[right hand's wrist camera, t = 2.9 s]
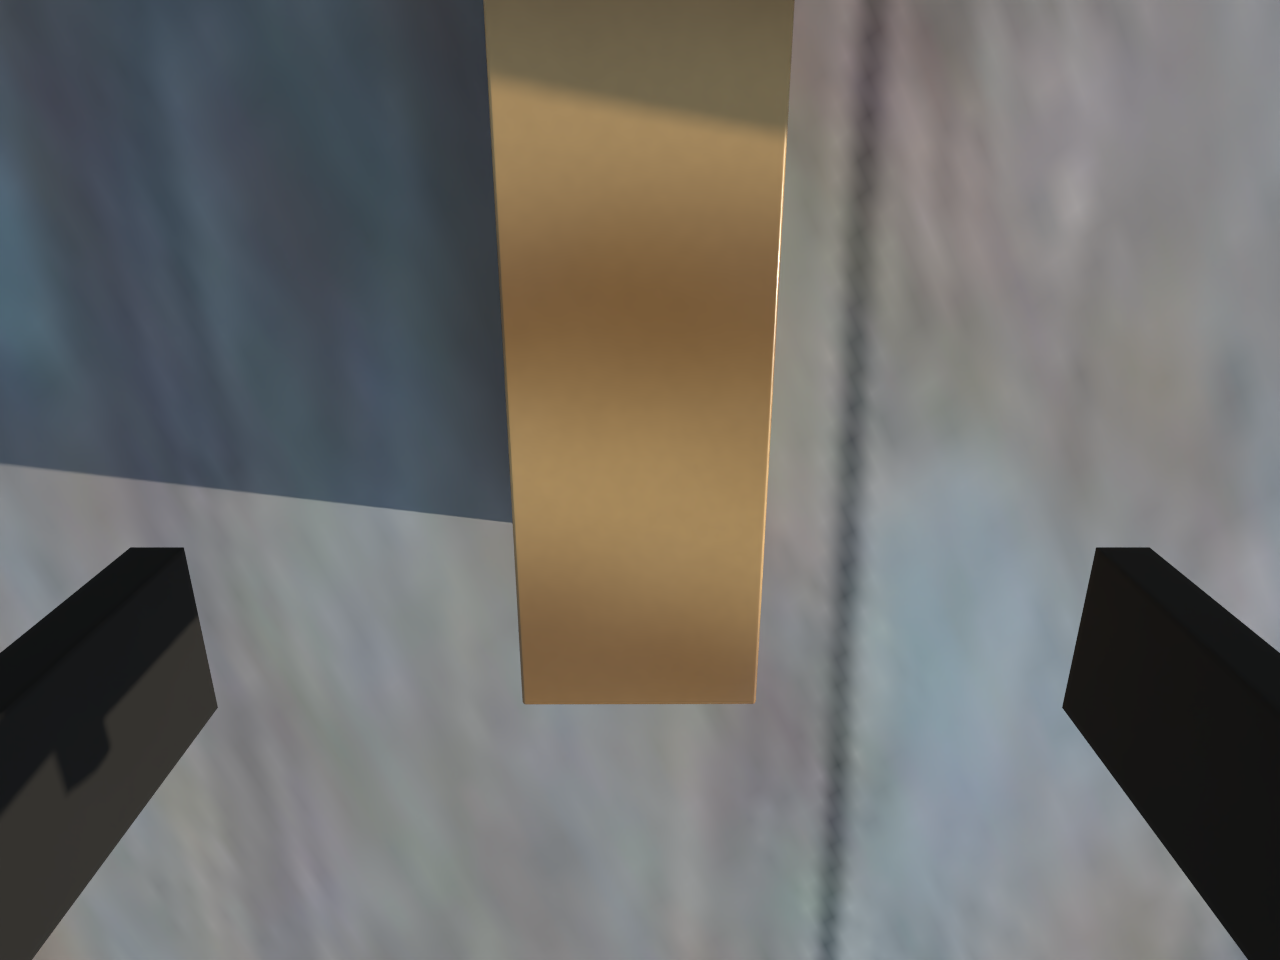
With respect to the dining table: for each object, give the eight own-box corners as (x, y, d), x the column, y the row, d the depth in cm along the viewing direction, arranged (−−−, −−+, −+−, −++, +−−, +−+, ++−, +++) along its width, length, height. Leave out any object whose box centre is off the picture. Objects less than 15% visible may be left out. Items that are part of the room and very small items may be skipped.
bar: (718, 528, 25) (755, 704, 17) (558, 529, 25) (522, 705, 17) (761, -720, 16) (882, -1554, 8) (513, -720, 16) (393, -1557, 8)
